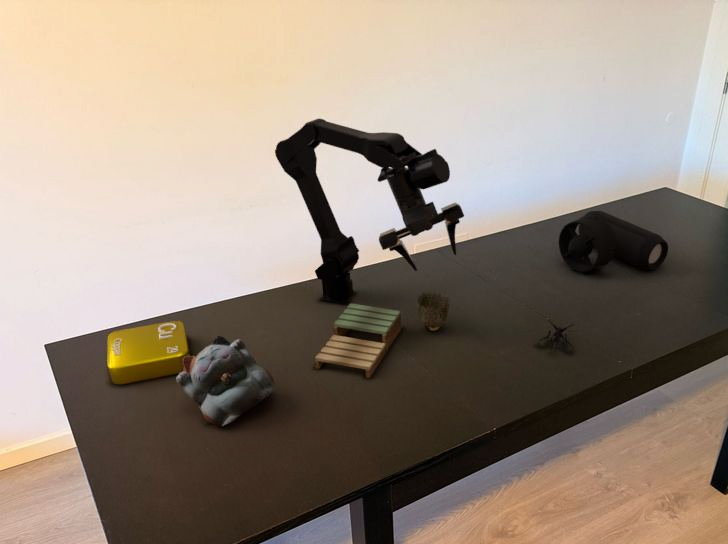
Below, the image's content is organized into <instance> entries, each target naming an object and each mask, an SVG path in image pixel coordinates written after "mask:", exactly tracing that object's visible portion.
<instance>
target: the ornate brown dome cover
mask: <svg viewBox="0 0 728 544" xmlns="http://www.w3.org/2000/svg"><path fill="white" fill-rule="evenodd" d="M417 298H418V299H416V306H417V311H418V312H417V313H418V318H419V321H420V322H421V324H422V325H423V326H424V328H425V330H426V331H427V333H428V332H429V333H438V332H439V331H441V329H442V326H443V325H444V324H445V323H446V321H447V319H448V315H449V310H450V303H451V298H450V296H449V295H446V293H443V294H442V293H441V292H440V291H438V292H437V291H436V290H435V291H433V293H432V292H431V291H428V293H426V292H422V293H421V294H418V296H417Z"/></svg>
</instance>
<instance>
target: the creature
mask: <svg viewBox="0 0 728 544" xmlns="http://www.w3.org/2000/svg"><path fill="white" fill-rule="evenodd" d="M547 321H548V322H549V323H550V324H551V325H552V326H553V328H554V330H555V332H554V333H553V335H552V336H551V331H552V330H548V334H547V336H544V337H543V338H541V339H540V338H539V340H538V341H537V344H539V343H540V342H541V341H543V340H546V339H549V337H550V336H551V337H550V340H549V343H551V345H549V344H547V347H550V352H552V351H553V347H554V351H553V354H555V353H556V349H557V348H558V345H559V343H560V341H561V338H562V345H563V347H560V349H562V350H563V351H564V352H565V353H566V354H568V352H567V351H566V350H565V349H564V348H565V347H566V345H565V343H567V344H568V345H569V346H570V347H571V351H570V352H569V354H571V353H572V352H573V351H574V346H573V345H572V343H570V342H569V341H568V340H567V333H564V335H563V332H565V331H566V330H567V329H569V328H571V327H573V326H574V325H575V323H572V324H569V325H568V326H566V327H563V328H562V327H560V326H559V327H558V326H556V325H555V324H554V323H553V322H552V321H551V320H550V319H549V318H547ZM554 343H555V346H554ZM537 347H538V348H539V349H543V348H545V347H546V345H544V346H540V345H537Z"/></svg>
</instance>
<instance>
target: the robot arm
mask: <svg viewBox="0 0 728 544" xmlns="http://www.w3.org/2000/svg"><path fill="white" fill-rule="evenodd" d="M321 144H325V145H328V146H332V147H336V148H338V149H341V150H345V151H349V152H351V153H356V154H359V155H360V156H363V157H364V159H366V161H368V162H369V163H371V164H373V165H375V166H377V167H379V168H381V169H380V173H379V176H378V178H377V182H379V183H380V182H381V183H382V182H383V181H386V180H387V183H388V185H389V188H390V190H391V193H392V195H393V198H394V200H395V202H396V205H397V207H398V210H399V212H400V214H401V217H402V221H403V224H404V226H405V227H403V228H400V229H398V230H397V229H396V228H395V227H392V228H391V229H388V230H386V231H382V232H381V233H379V235H378V242H379V245H380V247H381V250H383V251H385V250H387V249H388V250H389V251H390V252H393V251H395V252H397V253H398V254H399V255H400V256H402V258H403V259H404V260H406V262H407V263H408V264H409V265H410V267H411V268H412V269H413V270H414V271H415V272H417V271H418V268H417V266H416V263H415V262H414V260H413V258H412V256H411V255H410V253H409V251H408V249H407V248H406V246H405V243H404V241H403V240H402V239H403V238H406V237H408V236H410V235H411V236H413V237H415V236H418V235H419V234H421V233H423V232H425V231H430V230H432V229H433V227H434V226H435V225H437V224H440V223H442V222H444V225H445V228H446V233H447V235H448V239H449V242H450V243H449V244H450V247H451V251H452V253H453V255H454V256H456V255H457V246H456V245H457V244H456V229H457V225H458V224H460V223H461V220H460V219H463V218H464V217H465V214H464V212H463V209H462V206H461V205H460V204H459V203H457V202H453V203H451V204H448V205H446V206H443V207H441V208H440V209H441V212H439V213H438V211H437V208H436V206H435V203H434V201H430V202H428V203H427V202H426V199H425V198H424V195H423V192H422V190H426V189H430V188H433V187H435V186H439V185H441V184H444V183H447V182H448V181H449V180H450V177H451V171H450V167H449V166H450V165H449V163H448V161H446V159H445V158H444V156H442V154H439V153H438V150H437V149H436V148H433V149H431V150H429V151H426V152H425V153H421V151H419V150H418V149H416V148H415V147H413V146H412V145H411V144H409V143H408V142H407V141H406V140H405V137H404V136H403V135H402V134H400V133H397V132H388V131H387V132H385V131H384V132H368V131H363V130H359V129H356V128H353V127H348V126H345V125H341V124H337V123H334V122H330V121H327V120H326V119H323V118H316V119H313V120H310V121H307V122H306V123H304V124H303V126H302V127H301V128H300V129H298V131H295V133H293V134H292V135H291V136H289V137H288V138H285V139H282V140H280V141H279V142H278V143H277V144H276V146H275V149H274V154H275V158H276V159H277V161H278V163H279V165H280V167H281V168H282V169H283V172H284V173H286V174H287V175H288V176H289V177H291V178H292V179H293V180H294V181H295V183H296V185H297V187H298V189H299V192H300V194H301V196H302V199H303V201H304V203H305V206H306V208H307V210H308V213H309V216H310V217H311V220H312V222H313V224H314V226H315V228H316V231H317V233H318V236H319V238H320V257H321V260H322V263H321V264H320V265H319V266H318V267H317V268H316V269H315V270H314V273H315V275H316V279H318V280H319V281H320V280H321V287H322V296H320V301H322V302H328V303H333V304H334V303H335V304H341V305H345V304H346V303H347V302H348V301H349V300H350V298H351V297H352V296H353V295H354V294H355V290H354V287H353V286H354V284H353V283H354V282H353V279H351V273H350V272H351V271H353V270H354V268H355V266H356V265H357V264H358V262H359V259H360V256H359V253H360V249H359V248H358V246H357V244H356V242H355V239H354V237H353V236H352V235H350V236H346V235H345V234H344V233H343V232H342V231H341V229H340V227H339V225H338V222H337V219H336V217H335V215H334V211H333V210H332V208H331V205H330V202H329V200H328V198H327V196H326V192H325V191H324V189H323V186H322V183H321V181H320V178H319V177H318V174H317V163H318V158H317V154H316V151H315V150H316V148H317V147H319V146H320V145H321Z"/></svg>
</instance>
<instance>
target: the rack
mask: <svg viewBox="0 0 728 544" xmlns="http://www.w3.org/2000/svg"><path fill="white" fill-rule="evenodd" d="M346 307H347V308H345V309H344V311H342V313H341V314H340V315H339V316H338V319H336V320H335V321H334V323H333V335H331V337H330V338H329V340H328V341H327V342H325V345H324V346H323V347H322V348H321V350H320V352H318V354H316V356H315V358H314V359H315V361H314V367H315V369H318V370H319V369H320V368H321V367H322V366H323V364H324V363H327V364H333V365H339V366H343V367H344V366H345V367H349V368H356V369H362V370H365V378H368V379H370V378H371V377H372V375H373V374H374V372H375V371H376V369H377V367H378V366H379V365H380V363H381V361H382V360H383V358H384V357H385V355H386V354H387V352H388V350H389V348H390V347H391V346H392V344H393V343H394V341H395V340H396V339H397V336H398V335H399V334H400V332H401V330H402V313H401V310H397V309H395V310H394V309H391V308H390V309H389V308H382V307H378V306H377V307H376V306H371V305H363V304H357V303H349V304H348V306H346ZM350 330H354V331H360V332H367V333H373V334H379V335H381V337H382V342H379V341H373V340H366V339H361V338H356V337H355V338H354V337H348V336H346V335H347V333H348V332H349V331H350Z"/></svg>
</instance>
